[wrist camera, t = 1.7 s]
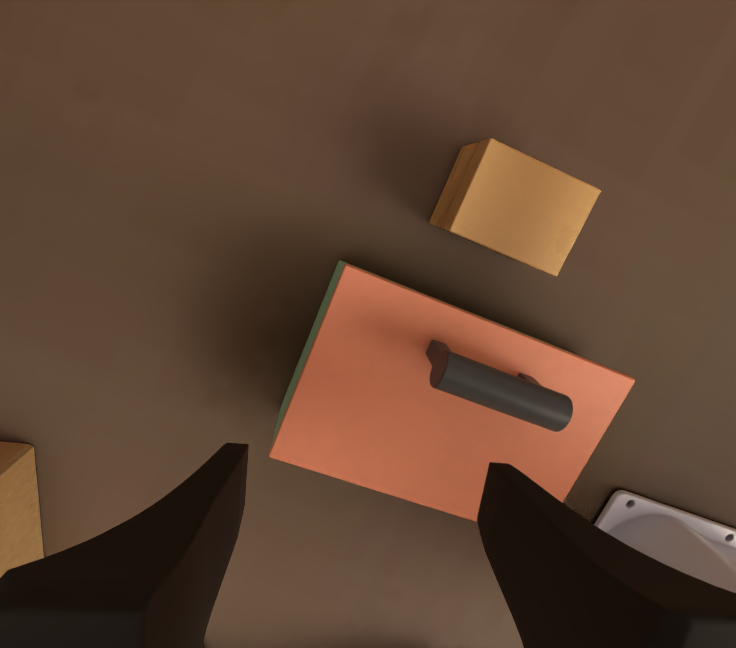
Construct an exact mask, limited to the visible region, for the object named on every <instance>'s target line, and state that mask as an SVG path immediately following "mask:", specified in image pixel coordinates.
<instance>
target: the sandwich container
mask: <svg viewBox="0 0 736 648" xmlns="http://www.w3.org/2000/svg"><path fill="white" fill-rule="evenodd" d="M42 558H44V553H43V542H42V530H41V518H40V507H39V496H38V485H37V475H36V464H35V453H34V446H32V445H30V444H24V443H13V442H2V441H0V578H1V577H2V576H3V574H4V573H5V572H6V571H7V570H9V569H12V568H15V567H18V566H21V565H24V564H27V563H30V562H33V561H36V560H39V559H42Z"/></svg>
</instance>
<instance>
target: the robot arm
mask: <svg viewBox="0 0 736 648" xmlns="http://www.w3.org/2000/svg"><path fill="white" fill-rule="evenodd" d="M248 445H249V444H238V443H226V444H225V445H223V446H222V447H221V448H220V449H219V450H218V451H217V452H216V453H215V454H214V455H213V456H212V457H211V458H210V459H209V460H208V461H207V462H206V463H205V464H203V465H202V466H201V467H200V468H199V469H198V470H197V471H196V472H194V473H193V474H192V475H191V476H190V477H189V478H188V479H186V480H185V481H184V482H183V483H182V484H180V485H179V486H178V487H177V488H175V489H174V490H173V491H171V492H170V493H169V494H168V495H166V496H165V497H164V498H162V499H161V500H159V501H158V502H157V503H155V504H154V505H152V506H151V507H149V508H147V509H146V510H144V511H143V512H141V513H139V514H138V515H136V516H134V517H133V518H131V519H129V520H127V521H125V522H123V523H122V524H120V525H118V526H116V527H114V528H112V529H110V530H108V531H106V532H105V533H103V534H101V535H98V536H96V537H94V538H92V539H90V540H87V541H85V542H83V543H81V544H78V545H76V546H73V547H71V548H69V549H66V550H64V551H61V552H59V553H56V554H53V555H51V556H48V557H45V558H42V559H39V560H36V561H33V562H30V563H27V564H24V565H21V566H18V567H15V568H12V569H9V570H7V571H6V572H5V573H4V574H3V576H2V577H1V578H0V648H202V644H203V640H204V636H205V632H206V628H207V625H208V622H209V618H210V615H211V612H212V609H213V606H214V603H215V600H216V597H217V595H218V592H219V589H220V586H221V583H222V580H223V578H224V575H225V572H226V569H227V566H228V563H229V561H230V558H231V555H232V552H233V549H234V546H235V543H236V540H237V537H238V533H239V528H240V524H241V519H242V515H243V510H244V506H245V491H246V476H247V460H248ZM630 500H631V501H630ZM628 501H630V502H629V503H627V502H628ZM477 522H478V526H479V530H480V534H481V538H482V542H483V545H484V549H485V552H486V554H487V557H488V559H489V562H490V564H491V567H492V569H493V571H494V574H495V576H496V579H497V581H498V583H499V586H500V588H501V590H502V593H503V595H504V597H505V600H506V602H507V605H508V607H509V609H510V612H511V614H512V616H513V619H514V621H515V624H516V626H517V629H518V632H519V634H520V637H521V640H522V643H523V646H524V648H736V529H734V528H731V527H728V526H725V525H723V524H720V523H717V522H714V521H711V520H708V519H705V518H702V517H700V516H697V515H694V514H691V513H688V512H685V511H682V510H679V509H677V508H674V507H671V506H668V505H665V504H662V503H659V502H656V501H653V500H651V499H648V498H645V497H642V496H639V495H636V494H633V493H630V492H628V491H625V490H618V491H616V492H615V493H614V494H613V495H612V496H611V498H610V500H609V501H608V503H607V504H606V506H605V508H604V509H603V511H602V512H601V514H600V516H599V517H598V519H597V520H596V522H595V524H594V525H593V524H592V523H590V522H589V521H588V520H586V519H585V518H583V517H582V516H580V515H579V514H577V513H576V512H574V511H573V510H572V509H570V508H569V507H567V506H566V505H565V504H563V503H562V502H561V501H559V500H558V499H556V498H555V497H554V496H552V495H551V494H550V493H549V492H547V491H546V490H545V489H543V488H542V487H541V486H539V485H538V484H537V483H535V482H534V481H533V480H532V479H530V478H529V477H528V476H526V475H525V474H524V473H522V472H521V471H519V470H518V469H517V468H515V467H514V466H512V465H510V464H508V463H495V462H489V467H488V471H487V476H486V480H485V484H484V489H483V493H482V498H481V502H480V507H479V511H478V516H477Z"/></svg>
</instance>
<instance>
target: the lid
mask: <svg viewBox="0 0 736 648" xmlns="http://www.w3.org/2000/svg"><path fill="white" fill-rule="evenodd" d="M634 382H635V380H634V379H633V378H631V377H630V376H628V375H625V374H623V373H620V372H618V371H615V370H613V369H610V368H608V367H605V366H603V365H600V364H598V363H595V362H593V361H590V360H588V359H585V358H583V357H580V356H578V355H575V354H573V353H570V352H568V351H565V350H563V349H560V348H558V347H555V346H553V345H550V344H547V343H545V342H542V341H540V340H537V339H535V338H532V337H530V336H527V335H525V334H522V333H520V332H517V331H515V330H512V329H510V328H507V327H505V326H502V325H500V324H497V323H495V322H492V321H490V320H487V319H485V318H482V317H480V316H477V315H475V314H472V313H470V312H467V311H465V310H462V309H460V308H457V307H455V306H452V305H450V304H447V303H445V302H442V301H440V300H437V299H435V298H432V297H430V296H427V295H425V294H422V293H420V292H417V291H415V290H412V289H410V288H407V287H405V286H402V285H400V284H397V283H395V282H392V281H389V280H387V279H384V278H382V277H379V276H377V275H374V274H372V273H369V272H367V271H364V270H362V269H359V268H357V267H354V266H352V265H349V264H347V263H345V264H344V267H343V269H342V272H341V274H340V277H339V279H338V282H337V284H336V287H335V289H334V292H333V294H332V297H331V299H330V302H329V304H328V307H327V309H326V312H325V314H324V317H323V319H322V322H321V324H320V327H319V329H318V332H317V334H316V337H315V339H314V342H313V344H312V347H311V349H310V352H309V354H308V357H307V359H306V362H305V364H304V367H303V369H302V372H301V374H300V377H299V379H298V382H297V384H296V387H295V389H294V392H293V394H292V397H291V399H290V402H289V404H288V407H287V409H286V412H285V414H284V417H283V419H282V422H281V424H280V427H279V429H278V432H277V434H276V437H275V439H274V442H273V444H272V447H271V449H270V453H269V457H271V458H274V459H277V460H281V461H284V462H287V463H290V464H293V465H296V466H300V467H303V468H306V469H309V470H312V471H316V472H319V473H322V474H325V475H328V476H332V477H335V478H338V479H341V480H344V481H348V482H351V483H354V484H357V485H360V486H364V487H367V488H370V489H373V490H376V491H380V492H383V493H386V494H389V495H392V496H396V497H399V498H402V499H405V500H408V501H412V502H415V503H418V504H421V505H424V506H428V507H431V508H434V509H437V510H440V511H444V512H447V513H450V514H453V515H456V516H460V517H463V518H466V519H469V520H472V521H476V522H477V516H478V511H479V507H480V502H481V498H482V493H483V489H484V484H485V480H486V476H487V471H488V467H489V462H495V463H508V464H510V465H512V466H514V467H515V468H517V469H518V470H519V471H521V472H522V473H524V474H525V475H526V476H528V477H529V478H530V479H532V480H533V481H534V482H535V483H537V484H538V485H539V486H541V487H542V488H543V489H545V490H546V491H547V492H549V493H550V494H551V495H552V496H554V497H555V498H556V499H558V500H559V501H561V502H562V503H563V501H564V500H565V498H566V496H567V494H568V493H569V491H570V489H571V488H572V486H573V484H574V483H575V481H576V479H577V478H578V476H579V474H580V473H581V471H582V469H583V468H584V466H585V464H586V463H587V461H588V459H589V458H590V456H591V454H592V453H593V451H594V449H595V448H596V446H597V444H598V442H599V441H600V439H601V437H602V436H603V434H604V432H605V431H606V429H607V427H608V426H609V424H610V422H611V421H612V419H613V417H614V416H615V414H616V412H617V411H618V409H619V407H620V406H621V404H622V402H623V401H624V399H625V397H626V396H627V394H628V392H629V390H630V389H631V387H632V385H633V384H634Z"/></svg>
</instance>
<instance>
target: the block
mask: <svg viewBox="0 0 736 648" xmlns="http://www.w3.org/2000/svg"><path fill="white" fill-rule="evenodd" d="M600 192H601V190H600V189H598V188H596V187H593V186H591V185H589V184H587V183H585V182H583V181H581V180H579V179H577V178H574V177H572V176H570V175H568V174H566V173H564V172H562V171H560V170H558V169H556V168H553V167H551V166H549V165H547V164H545V163H543V162H541V161H539V160H537V159H535V158H532V157H530V156H528V155H526V154H524V153H522V152H520V151H518V150H516V149H514V148H511V147H509V146H507V145H505V144H503V143H501V142H499V141H497V140H495V139H492V138H490V139H487V140H483V141H480V142H477V143H473V144H470V145H467V146H463V147H462V148H461V150H460V153H459V155H458V157H457V159H456V162H455V164H454V166H453V169H452V171H451V173H450V175H449V178H448V180H447V182H446V185H445V187H444V189H443V192H442V194H441V196H440V198H439V201H438V203H437V205H436V208H435V210H434V212H433V214H432V217H431V219H430V221H429V223H430V224H432V225H434V226H437V227H439V228H441V229H444V230H446V231H448V232H451V233H453V234H455V235H458V236H460V237H462V238H465V239H467V240H469V241H472V242H474V243H476V244H479V245H481V246H483V247H486V248H488V249H490V250H493V251H495V252H497V253H500V254H502V255H504V256H507V257H509V258H511V259H514V260H516V261H518V262H521V263H523V264H526V265H528V266H531V267H533V268H535V269H538V270H540V271H543V272H545V273H548V274H550V275H552V276H557V275H558V273H559V271H560V269H561V267H562V265H563V263H564V261H565V259H566V257H567V255H568V253H569V251H570V250H571V248H572V246H573V244H574V242H575V240H576V238H577V236H578V234H579V232H580V230H581V228H582V226H583V225H584V223H585V221H586V219H587V217H588V215H589V213H590V211H591V209H592V207H593V205H594V203H595V201H596V199H597V198H598V196H599V194H600Z"/></svg>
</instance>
